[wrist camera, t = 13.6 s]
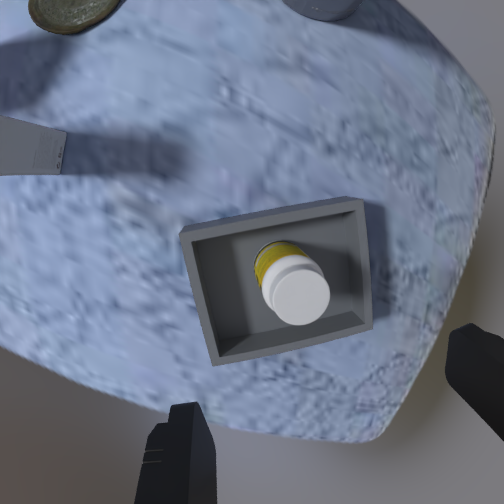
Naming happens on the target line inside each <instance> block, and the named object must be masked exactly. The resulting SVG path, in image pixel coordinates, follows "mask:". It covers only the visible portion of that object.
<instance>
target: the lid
mask: <svg viewBox="0 0 504 504" xmlns="http://www.w3.org/2000/svg"><path fill="white" fill-rule="evenodd" d="M119 1H120V0H29V3H28V10H29V14H30V16H31V18H32V20H33V22H34V23H35V24H36V25H37V26H39V27H40V28H42V29H44V30H46V31H48V32H51V33H55V34H61V35H67V34H73V33H78V32H80V31H82V30H85V29H86V28H88V27H91V26H93V25H95V24H97V23H98V22H100V21H101V20H103V19H104V18H105V17H106V16H107V15H108V14H110V13H111V12H112V10H113V9H114V8H115V7H116V6H117V4H118V2H119Z"/></svg>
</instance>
